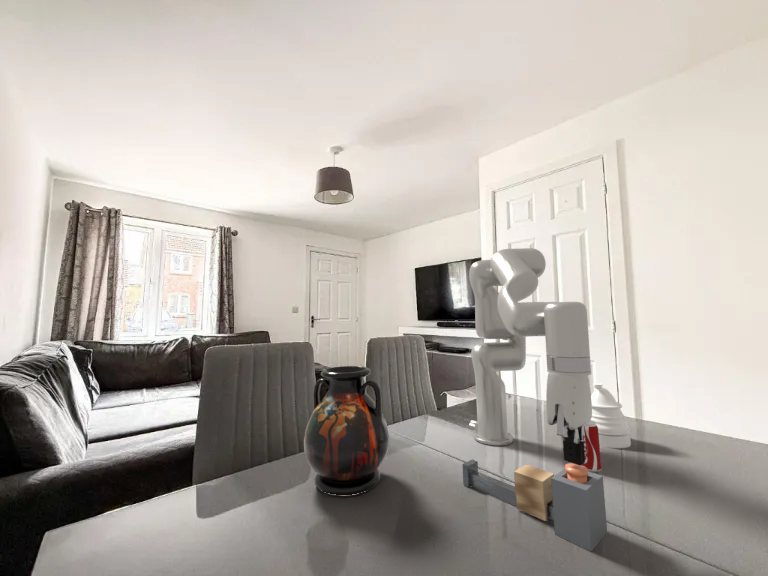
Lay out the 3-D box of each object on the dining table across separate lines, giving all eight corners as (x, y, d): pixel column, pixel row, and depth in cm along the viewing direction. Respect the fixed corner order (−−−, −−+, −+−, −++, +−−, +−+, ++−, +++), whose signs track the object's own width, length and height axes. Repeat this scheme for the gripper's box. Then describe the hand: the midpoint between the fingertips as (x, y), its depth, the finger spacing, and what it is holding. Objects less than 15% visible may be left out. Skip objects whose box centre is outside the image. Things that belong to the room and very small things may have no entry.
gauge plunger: (564, 505, 62) (561, 467, 63) (572, 497, 65) (569, 461, 66) (586, 513, 60) (583, 474, 60) (594, 506, 62) (591, 468, 63)
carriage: (516, 508, 69) (514, 471, 70) (528, 500, 72) (526, 464, 73) (545, 522, 65) (542, 481, 65) (556, 512, 68) (553, 473, 68)
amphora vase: (285, 497, 77) (285, 374, 80) (331, 459, 97) (330, 362, 100) (370, 513, 70) (368, 378, 72) (401, 469, 90) (398, 364, 92)
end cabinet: (555, 534, 62) (551, 478, 62) (573, 517, 67) (569, 465, 68) (590, 551, 57) (586, 490, 58) (607, 531, 62) (602, 475, 63)
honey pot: (616, 451, 98) (611, 389, 99) (574, 438, 109) (570, 382, 111) (639, 442, 104) (634, 384, 105) (597, 431, 115) (592, 378, 117)
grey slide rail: (463, 485, 80) (462, 464, 81) (473, 480, 83) (472, 459, 83) (562, 531, 62) (560, 503, 63) (571, 522, 65) (569, 495, 65)
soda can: (605, 473, 85) (601, 424, 86) (582, 471, 86) (579, 424, 87) (596, 464, 90) (592, 418, 91) (575, 463, 91) (572, 418, 92)
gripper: (564, 359, 72) (570, 445, 71) (530, 367, 63) (536, 467, 62) (603, 362, 67) (610, 456, 65) (572, 372, 57) (580, 483, 56)
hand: (574, 461), depth 63 cm, fingers closed
